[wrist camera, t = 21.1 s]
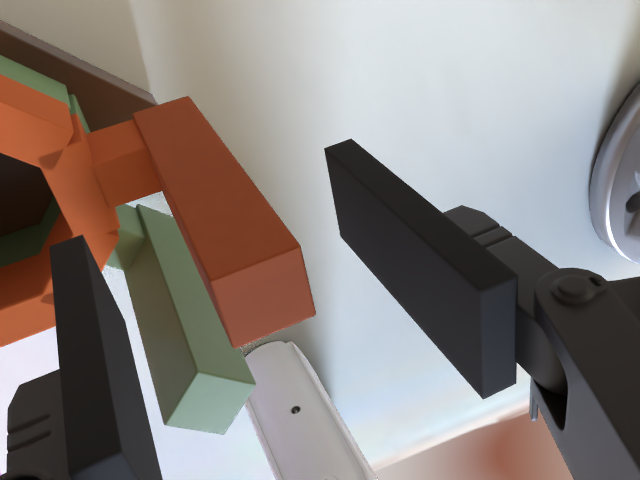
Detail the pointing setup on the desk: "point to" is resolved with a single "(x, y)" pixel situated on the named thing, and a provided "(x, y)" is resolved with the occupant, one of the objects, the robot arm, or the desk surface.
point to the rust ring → (142, 180)
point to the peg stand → (95, 103)
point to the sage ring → (156, 300)
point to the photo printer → (299, 419)
